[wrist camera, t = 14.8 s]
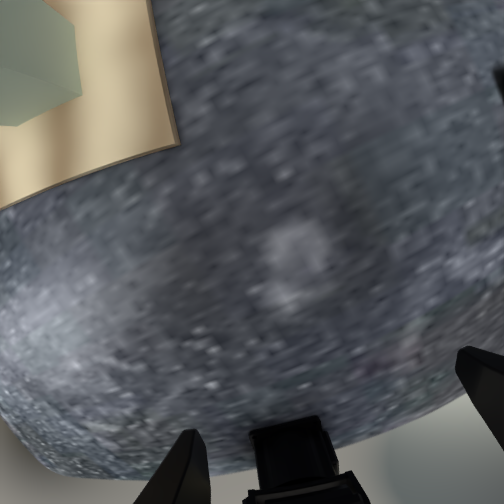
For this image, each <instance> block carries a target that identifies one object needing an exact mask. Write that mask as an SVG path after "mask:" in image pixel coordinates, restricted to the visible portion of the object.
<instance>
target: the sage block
mask: <svg viewBox="0 0 504 504" xmlns="http://www.w3.org/2000/svg"><path fill="white" fill-rule="evenodd" d="M82 95H83V94H82V88H81V81H80V74H79V67H78V59H77V50H76V40H75V29H74V25H73V24H72V23H70V22H69V21H68V20H67V19H65V18H64V17H63V16H62V15H60V14H59V13H58V12H57V11H55V10H54V9H53V8H51V7H50V6H49V5H48V4H46V3H45V2H44V1H42V0H0V126H15V127H17V126H19V125H21V124H23V123H25V122H27V121H28V120H30V119H32V118H34V117H36V116H38V115H40V114H42V113H44V112H46V111H48V110H50V109H53V108H55V107H57V106H59V105H61V104H63V103H66V102H68V101H70V100H72V99H75V98H77V97H79V96H82Z"/></svg>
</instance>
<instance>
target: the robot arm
mask: <svg viewBox="0 0 504 504" xmlns="http://www.w3.org/2000/svg"><path fill="white" fill-rule="evenodd" d="M455 371H456V374H457V376H458V377H459V379H460V381H461V383H462V385H463V387H464V388H465V390H466V392H467V394H468V396H469V398H470V399H471V401H472V403H473V404H474V406H475V408H476V409H477V411H478V412H479V414H480V415H481V416H482V418H483V420H484V421H485V423H486V424H487V426H488V427H489V429H490V430H491V432H492V433H493V435H494V436H495V438H496V439H497V441H498V443H499V444H500V446H501V447H502V449H503V451H504V356H502V355H499V354H495V353H492V352H489V351H485V350H482V349H479V348H475V347H472V346H465V347H463V348H461V349H460V350H459V351H458V353H457V359H456V365H455ZM314 421H315V422H314ZM249 439H250V441H251V444H252V446H253V449H254V451H255V458H256V466H257V473H258V480H259V487H260V490H254V489H252V490H248V497H247V498H246V499H244V500H242V503H243V504H371V503H370V501H369V499H368V497H367V495H366V493H365V492H364V490H363V488H362V487H361V485H360V484H359V482H358V480H357V479H356V477H355V476H354V474H353V472H352V471H347V472H345V473H343V474H339V462H338V459H337V456H336V453H335V451H334V448H333V445H332V443H331V440H330V437H329V434H328V432H327V431H322V428H321V421H320V418H319V417H317V416H314V417H310V418H307V419H303V420H299V421H295V422H291V423H287V424H283V425H279V426H274V427H270V428H265V429H260V430H255V431H252V432H250V433H249ZM133 504H211V487H210V478H209V469H208V461H207V452H206V446H205V443H204V441H203V439H202V438H201V436H200V434H199V432H198V430H197V429H186V430H184V431H182V433H181V434H180V436H179V437H178V439H177V440H176V442H175V443H174V445H173V446H172V448H171V449H170V451H169V452H168V454H167V455H166V457H165V458H164V460H163V461H162V463H161V464H160V466H159V467H158V469H157V470H156V472H155V473H154V474H153V476H152V477H151V479H150V480H149V482H148V483H147V485H146V486H145V488H144V489H143V491H142V492H141V493H140V495H139V496H138V498H137V499H136V500H135V502H134V503H133Z"/></svg>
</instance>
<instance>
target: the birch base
mask: <svg viewBox="0 0 504 504" xmlns="http://www.w3.org/2000/svg"><path fill="white" fill-rule="evenodd" d="M42 1H44V2H45V3H46V4H48V5H49V6H50V7H51V8H53V9H54V10H55V11H57V12H58V13H59V14H60V15H62V16H63V17H64V18H65V19H67V20H68V21H69V22H70V23H72V24H73V25H74V29H75V40H76V50H77V59H78V67H79V74H80V81H81V88H82V94H83V95H82V96H79V97H77V98H75V99H72V100H70V101H68V102H66V103H63V104H61V105H59V106H57V107H55V108H53V109H50V110H48V111H46V112H44V113H42V114H40V115H38V116H36V117H34V118H32V119H30V120H28V121H27V122H25V123H23V124H21V125H19V126H17V127H15V126H0V210H2V209H5V208H8V207H10V206H12V205H14V204H17V203H19V202H21V201H23V200H26V199H28V198H30V197H32V196H35V195H37V194H39V193H42V192H44V191H47V190H49V189H51V188H54V187H56V186H59V185H61V184H64V183H66V182H69V181H72V180H74V179H77V178H80V177H82V176H85V175H88V174H90V173H93V172H96V171H99V170H102V169H104V168H107V167H110V166H113V165H116V164H119V163H122V162H125V161H128V160H131V159H135V158H138V157H141V156H144V155H148V154H151V153H154V152H158V151H161V150H165V149H168V148H172V147H175V146H179V145H181V144H180V139H179V135H178V131H177V126H176V122H175V118H174V113H173V109H172V104H171V100H170V95H169V90H168V86H167V81H166V76H165V71H164V67H163V62H162V57H161V52H160V47H159V42H158V37H157V31H156V26H155V21H154V15H153V10H152V4H151V0H42Z"/></svg>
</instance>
